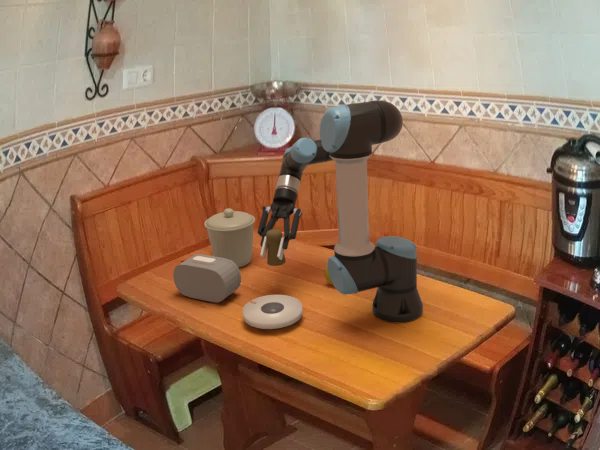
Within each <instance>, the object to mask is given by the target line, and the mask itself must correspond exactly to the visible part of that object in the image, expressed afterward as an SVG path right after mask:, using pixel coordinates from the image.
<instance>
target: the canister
mask: <svg viewBox="0 0 600 450" xmlns="http://www.w3.org/2000/svg"><path fill="white" fill-rule="evenodd" d="M255 222H256V218H255V217H254V215H252V214H249V213H248V212H245V211H237V210H233V208H230V207H229V208H225V209H224V211H223V212H219V213H216V214H213V215H211V216H210V217H209V218H207V219H206V220H205V221H204V223H203V224H204V227H205V228H206V231H207V235H208V239H209V244H210V248H211V252H212V256H215V257H221V258H225V259H229V260H232V261H233V262H234V263H235V264H236V265H237V266H238V268H239V269H240V268H243V267H244V266H247V265H248V264H249V263H250V262H251V260H252V258H253V252H254V251H253V249H254V223H255Z"/></svg>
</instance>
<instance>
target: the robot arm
mask: <svg viewBox="0 0 600 450" xmlns="http://www.w3.org/2000/svg"><path fill="white" fill-rule="evenodd" d="M403 124H404V123H403V116H402V113H401V110H399V108H398V107H397V106H395V105H394V104H393V103H391V102H389V101H386V100H379V99H377V100H371V101H364V102H357V103H348V104H340V105H338V106H333V107H329V108H328V109H326V110H325V112H324V114H322V117H321V120H320V124H319V139H314V140H313V139H311V138H309V137H301V138H299V139H298V140H297V141H295V142H294V143H293V144H292V146H290V147H288V148H286V149H285V151H284V154H283V156H282V162H281V166H280V171H279V175H278V178H277V182H276V186H275V190H274V195H273V199H272V203H271V204H270V206H267V207H266V206H265V205H264V206H262V207H261V209H262V213H261V218H260V221H259V224H258V228H257V234H258V235H259V236H260V237H261V240H260V243H259V245H260V247H261V251H260V254H259V256H261V258H262V259H266V256H267V254H268V240H267V238H266V233H267V232H268V231H269V230H271V229H274V227H275V225H276V223H277V222H278V220H280V219H283V234H282V238H281V242H280V246H279V251H278V255H277V257H278V258H279V259H280V260H282V258H283V254H284V255H285V250H287V249H288V247H289V244H290V243H289V241H291V240H296V238H297V234H298V230H299V229H298V227H299V224H300V218H301V217H302V215H303V211H302V210H301V208H296V204H297V198H298V193H299V190H300V187H301V182H302V177H303V174H304V170H306V168H307V167H308V166H310V165H311V166H312V165H315V164H316V165H317V164H320V163H321V164H322V163H326V162H332V161H334V166H335V185H336V186H335V187H336V202H337V206H336V207H337V222H338V223H337V225H338V226H337V227H338V243H336V244H335V245H334V248H333V250H334V251H333V252H334V255H332V256H329V258H327V263H326V267H327V268H328V272H329V276H330V278H331V281H332V283H333V287H334V288H335V289H336V290H337V291H338V292H339V293H340V294H342V295H351V294H358V293H360V292H364V291H368V290H372V289H376V288H377V289H376V292H375V295H374V298H373V301H372V304H371V305H372V314H373V315H374V316H375V318H377V319H379V320H380V321H384V322H387V323H396V324H399V323H401V324H402V323H408V322H412V321H415V320H417V319H418V318H420V317H421V316H422V315H423V312H424V310H423V309H424V308H423V306H424V305H423V301H422V299H421V296H420V292H419V290H418V285H417V284H418V280H417V279H418V277H417V276H418V275H417V274H418V251H417V246H416V244H415V243H414V242H413V241H411V239H407V238H406V237H401V236H392V235H391V236H388V235H386V236H381V237H379V238H378V239H377V240H376V243H375V244H376V246H375V244H374V243H373V242H371V241H370V218H369V191H368V187H369V186H368V185H369V184H368V160H369V158H370V157H371V156H372V155H373V146H375V145H379V144H383V143H387V142H389V141H391V140H393V139H396V137H397V136H399V134H400V133H401V131H402V128H403ZM271 212H272V213H271ZM270 213H271V215H270V217H269V214H270ZM292 214H293V218H292V224H291V223H290V222H291V215H292ZM268 219H269V220H268ZM290 224H291V226H290ZM290 227H291V228H290Z"/></svg>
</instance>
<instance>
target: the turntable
mask: <svg viewBox="0 0 600 450" xmlns="http://www.w3.org/2000/svg"><path fill="white" fill-rule="evenodd" d="M303 312H304V311H303V304H302V302H301V301H300V300H299V299H298V298H296V297H293V296H290V295H286V294H269V295H262V296H259V297H256V298H254V299H251V300H250V301H248V302H247V303H246V304H245V305H244V306H243V308H242V317H243V321H244V322H245V323H246V324H247V325H249V326H250V327H253V328H257V329H260V330H261V329H263V330H273V329H275V330H276V329H281V328H282V329H283V328H285V327H288V326H291V325H293V324H295V323H296V322H298V321H299V320H300V319H301V318H302V316H303Z"/></svg>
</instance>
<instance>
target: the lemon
mask: <svg viewBox="0 0 600 450" xmlns="http://www.w3.org/2000/svg"><path fill="white" fill-rule="evenodd" d="M324 277H325V280H326V282H327V283H329V284H331V285H333V283H332V281H331V278H330V276H329V272H328V268H327V266H326V267H325V270H324ZM333 286H334V285H333Z"/></svg>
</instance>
